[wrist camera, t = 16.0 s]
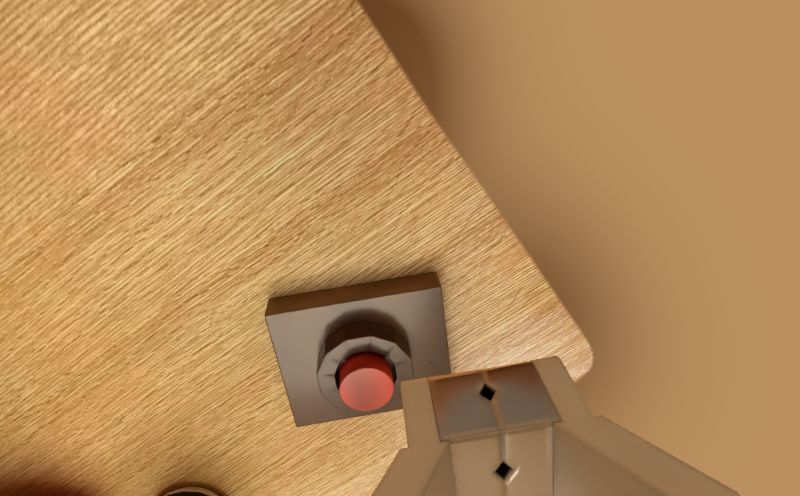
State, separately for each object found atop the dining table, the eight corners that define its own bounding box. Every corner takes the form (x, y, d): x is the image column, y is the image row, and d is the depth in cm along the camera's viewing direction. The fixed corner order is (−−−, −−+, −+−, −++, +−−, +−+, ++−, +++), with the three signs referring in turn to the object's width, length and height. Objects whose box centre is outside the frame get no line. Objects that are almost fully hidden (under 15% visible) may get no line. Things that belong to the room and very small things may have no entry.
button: (387, 347, 35) (390, 363, 34) (395, 389, 37) (397, 406, 35) (335, 356, 35) (334, 373, 34) (344, 398, 37) (344, 415, 35)
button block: (436, 271, 37) (446, 300, 34) (448, 381, 42) (458, 417, 38) (268, 298, 37) (260, 331, 33) (298, 407, 41) (294, 445, 38)
